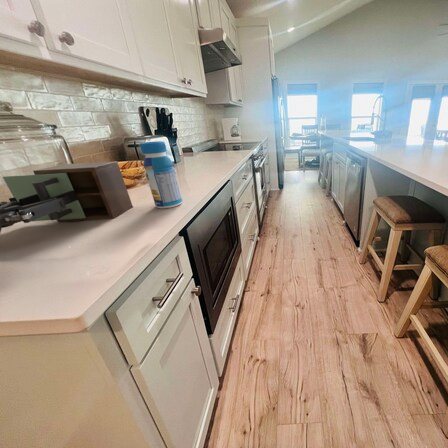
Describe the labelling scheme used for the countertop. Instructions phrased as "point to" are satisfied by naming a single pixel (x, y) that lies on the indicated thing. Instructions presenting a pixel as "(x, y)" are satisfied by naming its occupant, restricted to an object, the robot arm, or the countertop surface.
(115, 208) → the cabinet
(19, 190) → the sliding door
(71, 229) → the countertop surface
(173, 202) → the beverage bottle
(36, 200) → the robot arm
